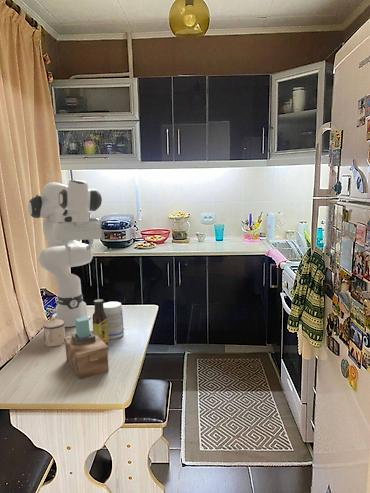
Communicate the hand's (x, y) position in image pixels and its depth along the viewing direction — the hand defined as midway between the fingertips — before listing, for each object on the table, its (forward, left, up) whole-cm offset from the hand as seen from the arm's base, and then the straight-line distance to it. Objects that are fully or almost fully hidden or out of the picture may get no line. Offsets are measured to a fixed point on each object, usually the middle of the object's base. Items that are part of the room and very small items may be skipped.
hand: (78, 250), depth 177 cm
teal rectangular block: (+23, -7, -31) cm, 39 cm away
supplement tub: (+3, +12, -41) cm, 43 cm away
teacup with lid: (-3, -13, -41) cm, 43 cm away
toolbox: (+25, -7, -41) cm, 48 cm away
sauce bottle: (+10, +4, -41) cm, 42 cm away
